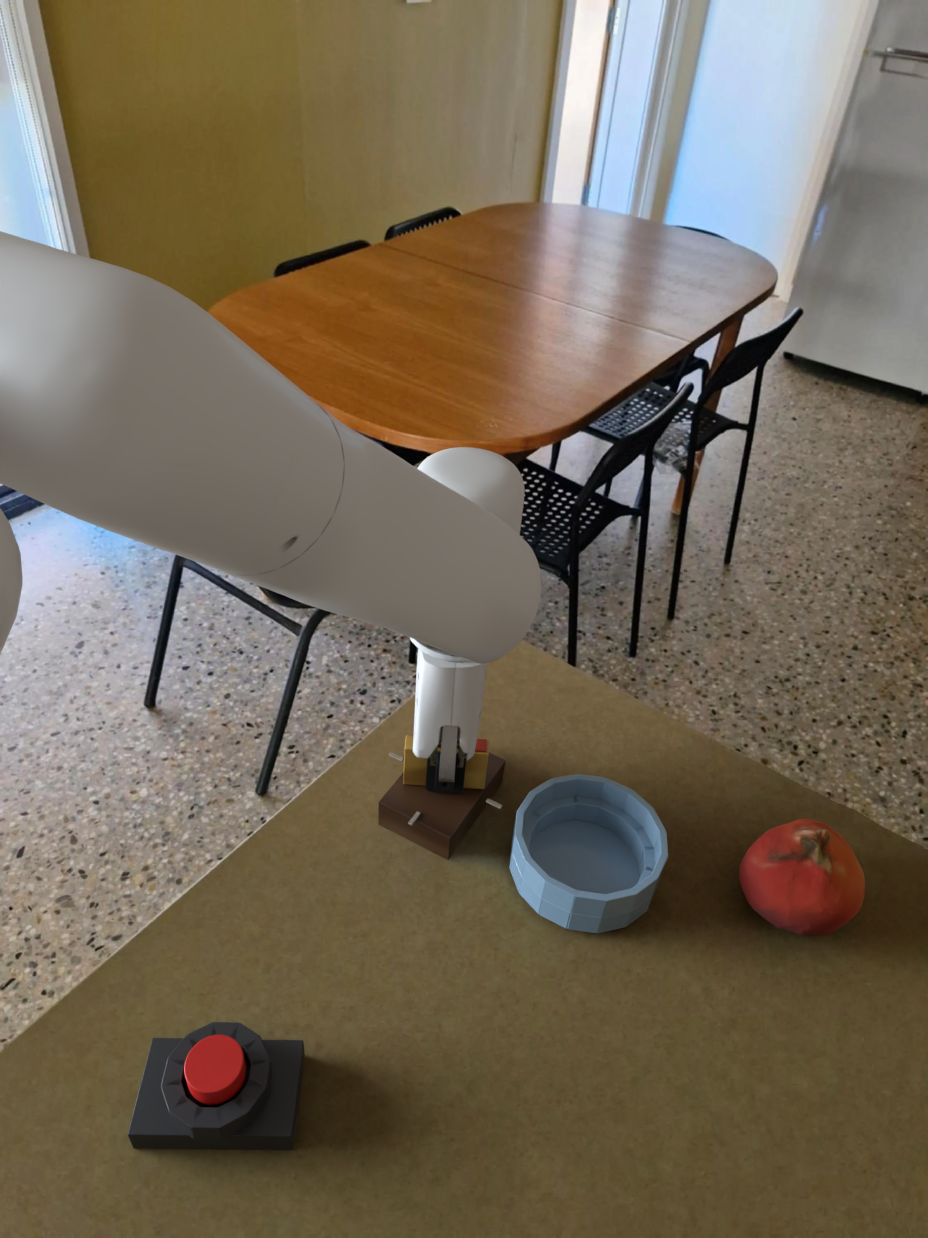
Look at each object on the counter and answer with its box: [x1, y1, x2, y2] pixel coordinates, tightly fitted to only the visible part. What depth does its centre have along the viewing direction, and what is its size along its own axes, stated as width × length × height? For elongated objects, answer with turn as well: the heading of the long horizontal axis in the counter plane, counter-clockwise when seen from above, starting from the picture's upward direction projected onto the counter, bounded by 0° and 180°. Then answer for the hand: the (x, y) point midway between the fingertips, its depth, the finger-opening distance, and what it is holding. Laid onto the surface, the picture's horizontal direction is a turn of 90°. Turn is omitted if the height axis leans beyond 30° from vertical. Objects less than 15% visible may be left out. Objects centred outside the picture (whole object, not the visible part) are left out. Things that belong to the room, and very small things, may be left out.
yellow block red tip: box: [403, 734, 490, 789], centre depth 75 cm, size 7×2×5 cm, turn 89°
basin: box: [508, 773, 669, 934], centre depth 73 cm, size 12×12×5 cm
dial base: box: [377, 751, 506, 861], centre depth 78 cm, size 11×11×3 cm
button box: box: [127, 1021, 306, 1151], centre depth 57 cm, size 10×6×4 cm, turn 91°
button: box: [184, 1035, 246, 1105], centre depth 56 cm, size 4×4×2 cm
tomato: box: [738, 818, 866, 937], centre depth 71 cm, size 9×9×8 cm
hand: (444, 777), depth 77 cm, fingers closed on yellow block red tip
